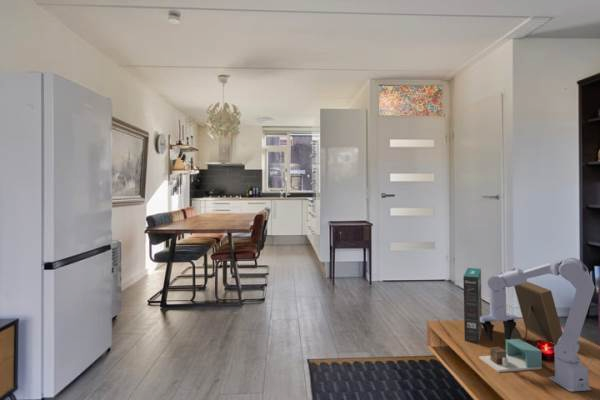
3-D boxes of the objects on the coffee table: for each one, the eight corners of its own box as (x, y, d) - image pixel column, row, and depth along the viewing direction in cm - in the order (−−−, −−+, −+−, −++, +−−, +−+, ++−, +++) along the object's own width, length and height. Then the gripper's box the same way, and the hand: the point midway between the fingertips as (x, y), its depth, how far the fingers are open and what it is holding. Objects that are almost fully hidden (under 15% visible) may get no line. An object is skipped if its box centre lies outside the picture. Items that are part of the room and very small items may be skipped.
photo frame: (534, 328, 178) (532, 278, 178) (565, 347, 157) (564, 290, 157) (504, 329, 179) (502, 279, 179) (531, 347, 157) (529, 291, 157)
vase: (524, 348, 156) (523, 328, 156) (506, 347, 157) (506, 327, 157) (517, 342, 163) (517, 323, 163) (501, 341, 164) (501, 322, 164)
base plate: (541, 368, 138) (541, 358, 138) (498, 372, 136) (498, 361, 136) (519, 355, 150) (519, 345, 150) (479, 358, 148) (478, 348, 148)
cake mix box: (479, 343, 163) (477, 277, 163) (464, 340, 166) (463, 276, 166) (481, 327, 182) (480, 268, 182) (468, 325, 185) (467, 267, 185)
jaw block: (506, 363, 141) (506, 351, 141) (496, 364, 140) (496, 351, 140) (499, 359, 145) (499, 346, 145) (490, 359, 144) (490, 347, 144)
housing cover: (541, 366, 138) (541, 350, 138) (527, 367, 137) (527, 351, 137) (519, 352, 150) (518, 338, 150) (505, 353, 149) (505, 339, 149)
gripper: (507, 301, 147) (508, 334, 147) (474, 303, 145) (475, 336, 145) (520, 306, 140) (521, 341, 140) (485, 308, 138) (486, 343, 138)
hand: (498, 339), depth 142 cm, fingers open, 7 cm apart
